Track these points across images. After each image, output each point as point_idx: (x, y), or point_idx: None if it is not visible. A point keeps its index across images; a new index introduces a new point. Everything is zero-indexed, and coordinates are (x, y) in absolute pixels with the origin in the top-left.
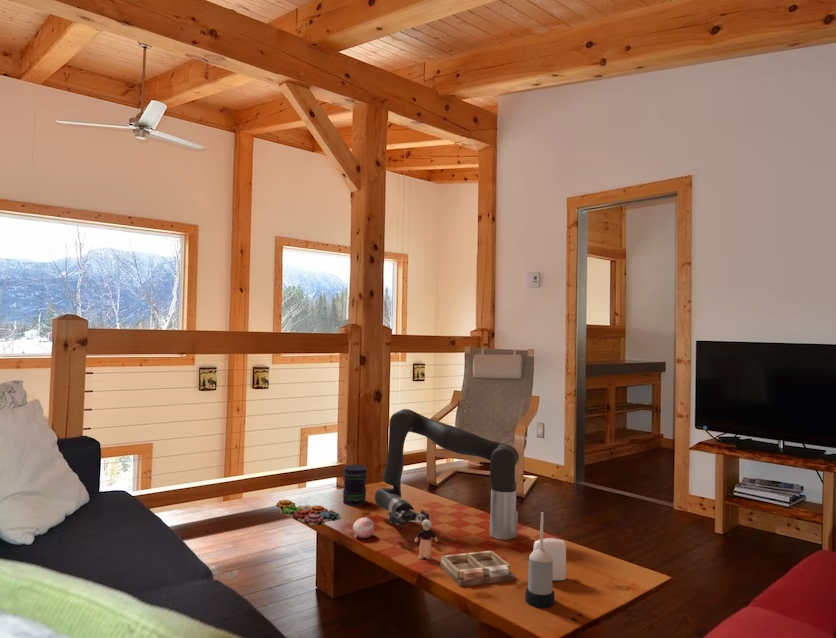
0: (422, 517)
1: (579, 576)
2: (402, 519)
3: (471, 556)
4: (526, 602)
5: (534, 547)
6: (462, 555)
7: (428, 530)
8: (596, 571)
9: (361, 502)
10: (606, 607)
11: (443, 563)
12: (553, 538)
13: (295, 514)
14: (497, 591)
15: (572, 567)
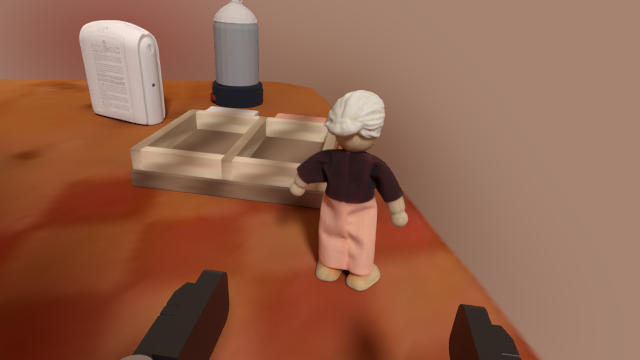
0: (185, 349)
1: (65, 108)
2: (479, 345)
3: (234, 147)
4: (261, 103)
5: (152, 46)
6: (252, 159)
7: (343, 149)
8: (3, 106)
9: None
10: (168, 81)
11: None
12: (104, 20)
13: None
14: None
15: (11, 121)
